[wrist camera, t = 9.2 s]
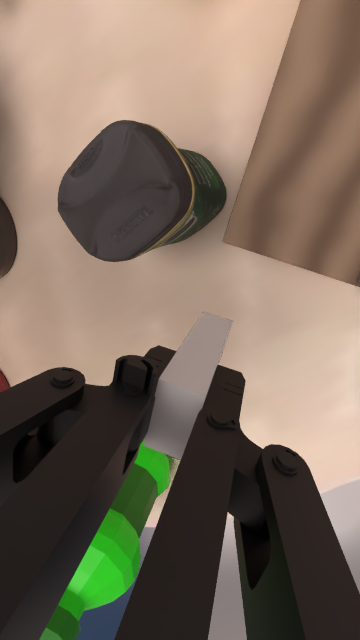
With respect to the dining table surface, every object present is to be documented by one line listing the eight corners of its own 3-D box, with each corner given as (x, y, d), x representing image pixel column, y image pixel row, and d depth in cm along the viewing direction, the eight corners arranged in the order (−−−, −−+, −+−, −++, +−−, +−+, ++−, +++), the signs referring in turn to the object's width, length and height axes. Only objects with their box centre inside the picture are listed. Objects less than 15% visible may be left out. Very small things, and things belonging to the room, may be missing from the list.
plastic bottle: (151, 416, 49) (45, 594, 27) (191, 467, 51) (120, 678, 28) (108, 438, 54) (-15, 608, 31) (146, 484, 55) (53, 680, 32)
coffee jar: (197, 140, 35) (121, 80, 18) (237, 201, 36) (201, 198, 19) (135, 197, 39) (26, 193, 22) (173, 251, 40) (95, 286, 23)
